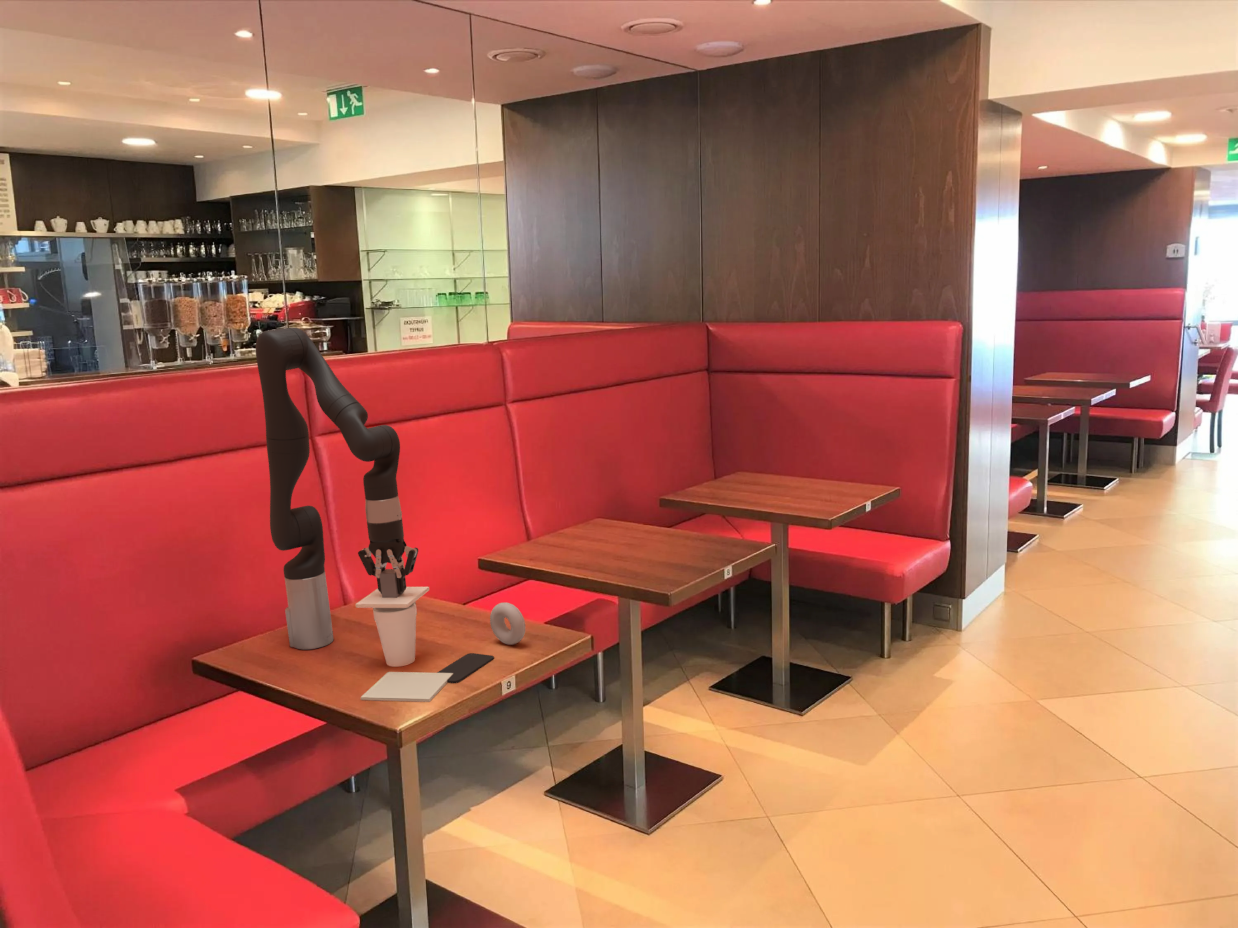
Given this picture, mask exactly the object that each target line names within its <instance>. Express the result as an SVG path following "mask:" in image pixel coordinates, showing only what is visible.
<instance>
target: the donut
mask: <svg viewBox="0 0 1238 928" xmlns="http://www.w3.org/2000/svg"><path fill="white" fill-rule="evenodd" d="M490 612H491V613H490V617H489V619H490V620H489V623H490V628H491V630H492V633H493V634H494V636H495V637H496V638H497V639H498V640H499V641H500V642H501V643H503V644H505V645H509V646H511V645H512V646H513V645H516V644H517V643H520V642H521V641H522V640H523V638H524V636H525V634H526V621H525V618H524V616H523V614H522V612H521V611H520V610H519V608H518V607H517V606H515V605H514V604H512V603H510V602H499V603H498V604H496V605H495V606H494V607H493V608H492V610H491V611H490ZM505 618H506V619H507V621H508V622H509V624H510V628H509V627H508V626H507V624H506V621H505Z"/></svg>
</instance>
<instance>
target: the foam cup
mask: <svg viewBox="0 0 1238 928" xmlns="http://www.w3.org/2000/svg"><path fill="white" fill-rule="evenodd" d="M416 602H417V601H415V602H414V603H413V604H411V605H410V606H409V607H408V608H372V612H373V621H375V624H376V628H377V629H376V630H377V632H378V637H379V640H380V644H381V647H382V651H383V652H382V653H383V656H384V659H385V663H386V665H387V666H388V667H393V668H394V667H403V666H407V665H410V664H413V663H414V662H415V661H416V659H415V658H416V641H417V639H416V636H417V635H416V634H417V633H416V632H417V615H418V612H417V611H418V610H417V603H416Z"/></svg>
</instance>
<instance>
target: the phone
mask: <svg viewBox="0 0 1238 928" xmlns="http://www.w3.org/2000/svg"><path fill="white" fill-rule="evenodd" d="M494 659H495V656H493V655H491V654H490V655H489V654H483V653H473V652H469V653H467V654H465V655H462V656H461V657H459V658H458V659H456V660H455V661H453V662H452V663H450V664H449V665H446V666H445V667H444V668H442V669H440V670H439V671H437V672H436V673H453V675H452V676H451V677H450V678H449V679H448V680H447V683H446V684H458V683H460V682H462V681H464V680H465V679H467V678H468V677H470V676H471V675H473V674H475V672H477V671H479V670H480V669H482V668H484V666H486V665H488V664H489V663H490V662H492V661H494Z"/></svg>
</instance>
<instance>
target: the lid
mask: <svg viewBox="0 0 1238 928" xmlns="http://www.w3.org/2000/svg"><path fill="white" fill-rule="evenodd" d="M396 578H397V576H396V573H395V570H394V569H393V568H386V570H384V571H383V572H381V573H380V583H381V591H382V594H381V592H379V590H378V588H376V589H374V590H373V591H372V592H371V593H369V594H368V595H366V596H365V597H363V598H362V599H360V600H359V601H358V602H356V603H355V608H359V609H361V608H363V609H366V608H367V609H368V608H370V609H373V608H408V607H409V606H410V605H411V604H413V603H414V602H417V601H418V600H419V599H420V598H421V597H423V596H424V595H425V594H426V593H428V592H429V591H430V586H406V590H405V591H404V593H402V594H398V590H397V581H396Z"/></svg>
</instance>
